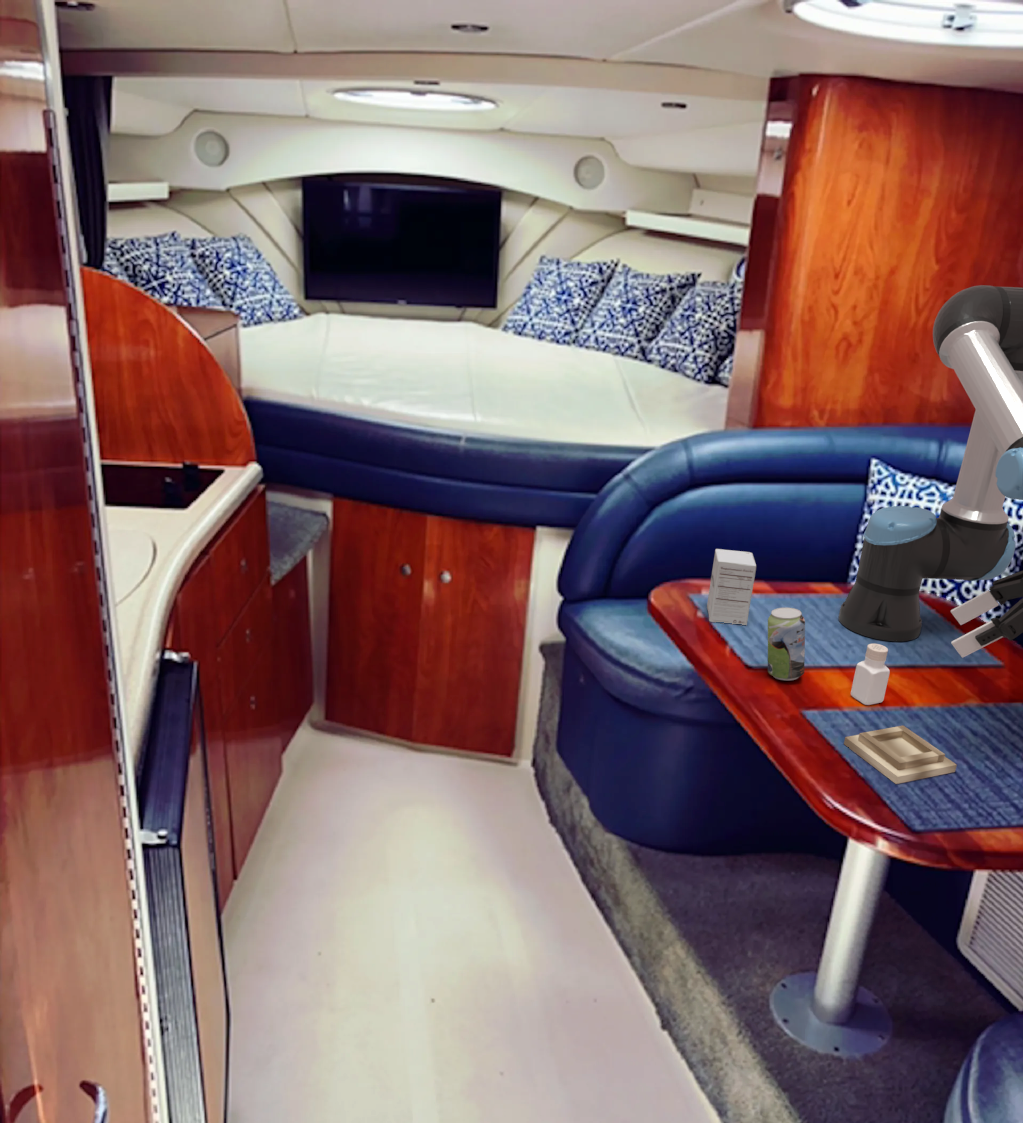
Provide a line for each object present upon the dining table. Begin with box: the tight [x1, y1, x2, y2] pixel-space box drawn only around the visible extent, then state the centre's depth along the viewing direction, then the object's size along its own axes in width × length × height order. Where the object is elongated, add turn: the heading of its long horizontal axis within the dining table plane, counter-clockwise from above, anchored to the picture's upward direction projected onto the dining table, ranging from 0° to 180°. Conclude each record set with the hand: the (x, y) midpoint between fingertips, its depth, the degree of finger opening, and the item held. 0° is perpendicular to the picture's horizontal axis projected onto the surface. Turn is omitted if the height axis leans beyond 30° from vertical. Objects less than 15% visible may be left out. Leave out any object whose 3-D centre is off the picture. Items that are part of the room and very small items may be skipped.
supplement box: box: [706, 548, 757, 626], centre depth 186 cm, size 7×7×13 cm
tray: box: [843, 725, 958, 785], centre depth 142 cm, size 11×11×2 cm
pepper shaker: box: [850, 643, 891, 706], centre depth 158 cm, size 4×4×10 cm
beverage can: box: [767, 607, 806, 682], centre depth 163 cm, size 6×7×12 cm
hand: (956, 633), depth 150 cm, fingers open, 13 cm apart
